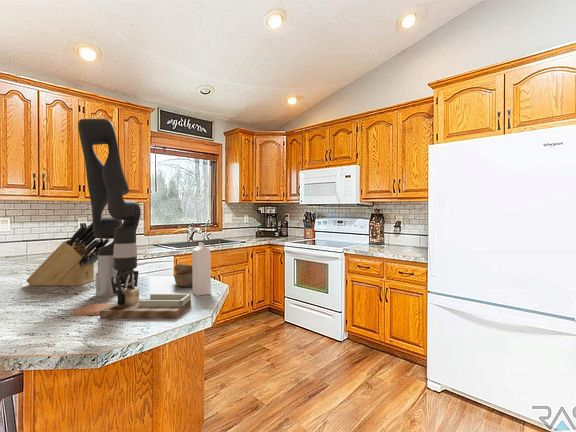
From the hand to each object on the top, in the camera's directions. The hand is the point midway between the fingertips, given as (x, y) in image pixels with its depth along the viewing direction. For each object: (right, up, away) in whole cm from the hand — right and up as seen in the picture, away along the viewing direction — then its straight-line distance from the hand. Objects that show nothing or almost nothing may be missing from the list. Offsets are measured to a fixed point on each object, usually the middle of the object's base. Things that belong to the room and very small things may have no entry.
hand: (125, 302), depth 111 cm
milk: (+21, -3, +22) cm, 31 cm away
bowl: (+10, -3, +36) cm, 38 cm away
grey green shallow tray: (+15, 0, -1) cm, 15 cm away
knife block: (-49, -3, +41) cm, 65 cm away
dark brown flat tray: (+9, -3, -3) cm, 10 cm away
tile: (-10, -3, -1) cm, 11 cm away
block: (+2, 0, 0) cm, 2 cm away
